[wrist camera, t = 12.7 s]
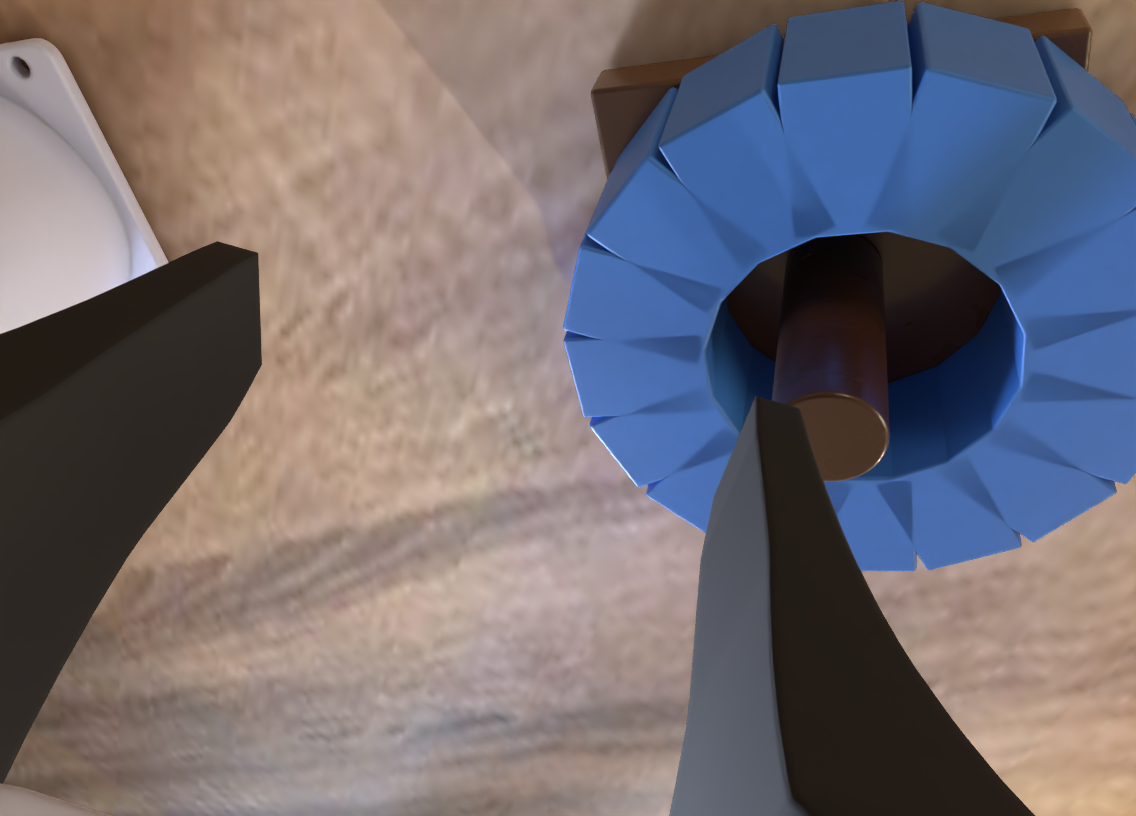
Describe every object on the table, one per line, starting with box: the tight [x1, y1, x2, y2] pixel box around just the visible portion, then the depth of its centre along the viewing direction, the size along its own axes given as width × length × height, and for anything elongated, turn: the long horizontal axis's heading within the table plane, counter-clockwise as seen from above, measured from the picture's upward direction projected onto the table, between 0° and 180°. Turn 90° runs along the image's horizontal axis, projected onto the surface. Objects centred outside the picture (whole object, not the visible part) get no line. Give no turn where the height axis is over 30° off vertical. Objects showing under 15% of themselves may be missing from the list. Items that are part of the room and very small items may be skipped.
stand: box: [591, 8, 1092, 482], centre depth 19 cm, size 9×9×7 cm
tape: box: [563, 1, 1136, 571], centre depth 20 cm, size 11×11×3 cm
